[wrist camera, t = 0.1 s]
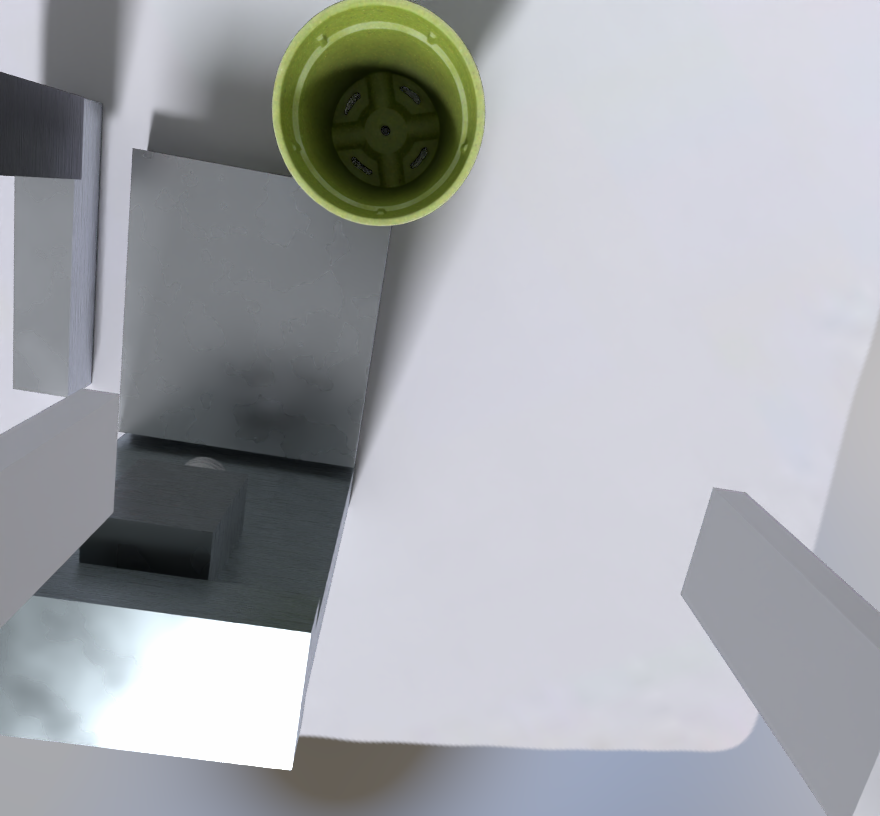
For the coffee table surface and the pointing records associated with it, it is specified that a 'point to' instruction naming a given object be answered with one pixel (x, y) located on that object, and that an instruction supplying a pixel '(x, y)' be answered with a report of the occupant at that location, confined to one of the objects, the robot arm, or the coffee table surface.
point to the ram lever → (39, 130)
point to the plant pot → (378, 110)
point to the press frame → (194, 455)
